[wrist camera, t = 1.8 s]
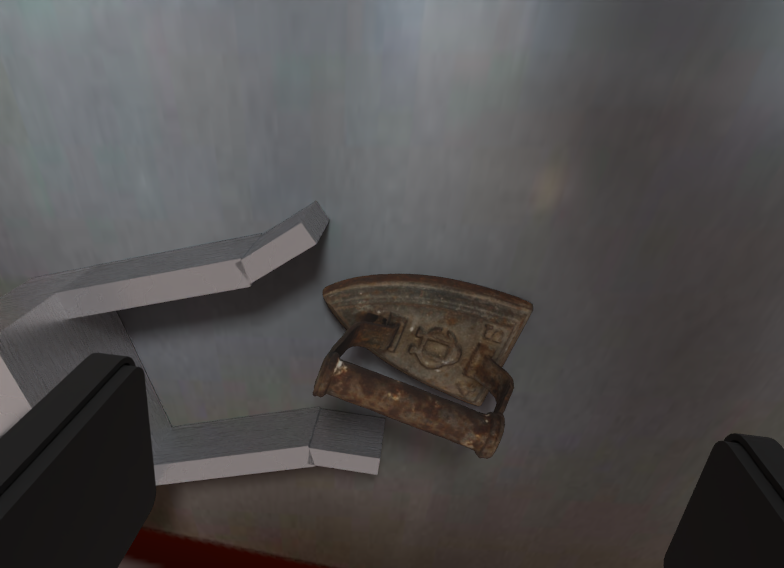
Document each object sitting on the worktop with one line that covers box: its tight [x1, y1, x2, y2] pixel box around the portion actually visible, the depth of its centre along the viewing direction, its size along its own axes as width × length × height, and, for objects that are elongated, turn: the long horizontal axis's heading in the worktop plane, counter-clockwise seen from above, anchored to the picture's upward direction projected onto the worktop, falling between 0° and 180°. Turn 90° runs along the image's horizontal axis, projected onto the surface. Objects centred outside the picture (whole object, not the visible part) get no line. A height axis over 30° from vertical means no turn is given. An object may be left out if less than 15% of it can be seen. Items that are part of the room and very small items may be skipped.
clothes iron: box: [313, 274, 533, 459], centre depth 28 cm, size 7×11×10 cm, turn 71°
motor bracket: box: [0, 201, 385, 485], centre depth 28 cm, size 18×15×10 cm
